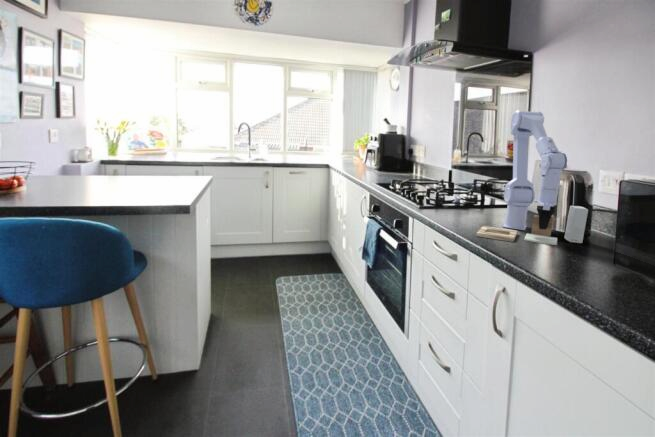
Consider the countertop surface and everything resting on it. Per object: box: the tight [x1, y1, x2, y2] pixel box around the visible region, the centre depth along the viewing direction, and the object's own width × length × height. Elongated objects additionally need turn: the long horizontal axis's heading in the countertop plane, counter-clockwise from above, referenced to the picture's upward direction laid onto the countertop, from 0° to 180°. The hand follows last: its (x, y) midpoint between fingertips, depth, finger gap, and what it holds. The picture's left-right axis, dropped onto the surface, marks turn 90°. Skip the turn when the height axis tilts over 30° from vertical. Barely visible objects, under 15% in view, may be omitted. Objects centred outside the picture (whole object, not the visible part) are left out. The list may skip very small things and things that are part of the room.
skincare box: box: [564, 205, 589, 244], centre depth 154 cm, size 6×4×12 cm
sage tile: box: [523, 232, 558, 246], centre depth 154 cm, size 10×10×1 cm
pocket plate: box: [475, 225, 518, 243], centre depth 157 cm, size 14×12×1 cm
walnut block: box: [530, 214, 554, 237], centre depth 153 cm, size 4×6×6 cm, turn 64°
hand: (542, 227), depth 153 cm, fingers closed on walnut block, 4 cm apart
